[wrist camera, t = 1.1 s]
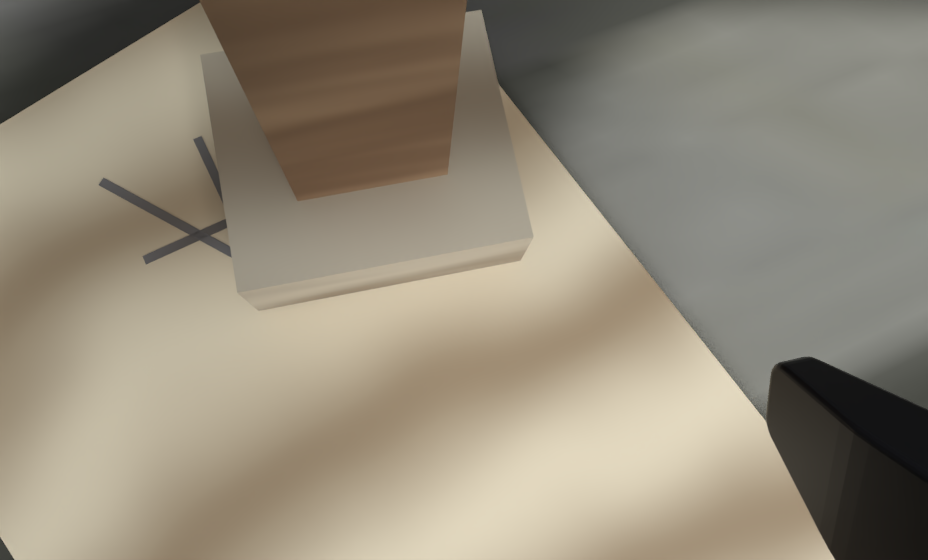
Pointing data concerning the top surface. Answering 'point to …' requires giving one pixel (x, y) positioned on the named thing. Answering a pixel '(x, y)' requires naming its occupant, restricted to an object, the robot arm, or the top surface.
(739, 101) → the top surface
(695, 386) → the plywood board
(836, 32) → the top surface
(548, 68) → the top surface
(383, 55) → the block
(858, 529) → the robot arm
